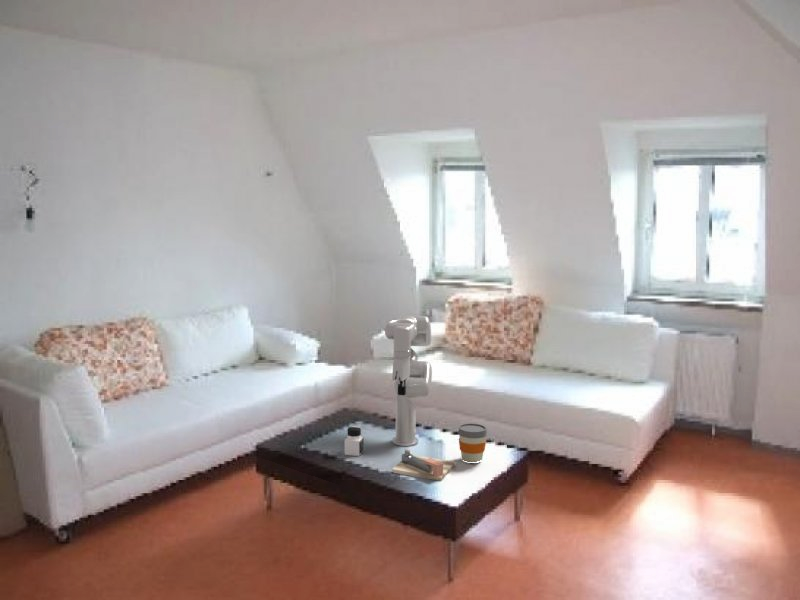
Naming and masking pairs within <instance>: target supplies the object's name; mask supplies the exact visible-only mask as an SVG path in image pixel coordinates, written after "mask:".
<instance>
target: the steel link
mask: <svg viewBox="0 0 800 600" xmlns="http://www.w3.org/2000/svg"><path fill="white" fill-rule="evenodd" d="M414 456H415V455H414ZM414 456H413V454H412V453H410V456H405V453H403V454H401V461H402V462H403V463H408V464H411V465H413V466H415V467H418V468H420V469H422V470H425V471H427V472H431V471H433V466H430V465H428V464H425V463H424V460H421V459H419V458H416V457H414Z"/></svg>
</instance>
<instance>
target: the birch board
mask: <svg viewBox="0 0 800 600" xmlns="http://www.w3.org/2000/svg"><path fill="white" fill-rule="evenodd" d="M404 454H405V456H410V454H411V450H410V449H405V450H404ZM412 455H413V454H412ZM413 456H414V457H416V458H419V459H421V460H425V459H428V458H429V457H427V456H419V455H413ZM431 458H432V459H435V460H438V461H440V462H443V475H441V476H438V477H437V476H434V475H433V471H431V472H427V471H425V470H422V469H420V468H418V467H415V466H413V465H411V464H408V463H403V462H402V460H401V461H399V462H398V463H397V464H396V465H395V466H394V467H392V469H391V473H392V472H393V473H394V474H399V475H405V476H411V477H418V478H424V479H429V480H433V481H441V482H442V481H443V480H444V479H445V478H446V476H447V475H448V474H449V473H450V472H451V471H452V469H454V467H455V466H456V461H451V460H445V459H438V458H433V457H431Z"/></svg>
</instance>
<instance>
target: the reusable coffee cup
mask: <svg viewBox="0 0 800 600" xmlns="http://www.w3.org/2000/svg"><path fill="white" fill-rule="evenodd" d="M457 433H458V435H459V438H458V444H459V450H460V454H461V461H462V460H464V461H467V462H477V461H480V460H482V461H483V457H484V452H485V449H486V443H487V440H486V437H487V435H488V433H487V427H486V426H485V425H483V424H479V423H472V422H471V423H463V424H460V425H458V432H457Z"/></svg>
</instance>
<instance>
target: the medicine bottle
mask: <svg viewBox="0 0 800 600" xmlns="http://www.w3.org/2000/svg"><path fill="white" fill-rule="evenodd" d="M364 439H365V438H364V436H363V435H362V430H361V427H359V426H355V425H354V426H350V427H349V426H348V427H347V437H346V438H345V439H344V455H345V456H353V457H354V456H356V457H360V456H361V454H362V453H363V452H364Z"/></svg>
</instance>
